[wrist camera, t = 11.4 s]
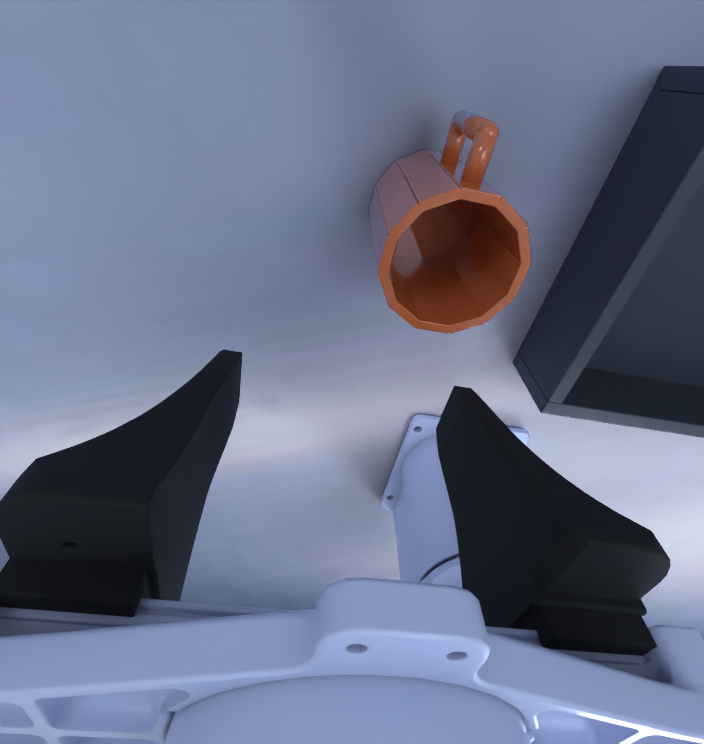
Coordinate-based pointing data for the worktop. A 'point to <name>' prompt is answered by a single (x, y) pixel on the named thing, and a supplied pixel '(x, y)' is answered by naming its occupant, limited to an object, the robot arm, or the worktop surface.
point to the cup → (448, 234)
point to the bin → (634, 282)
